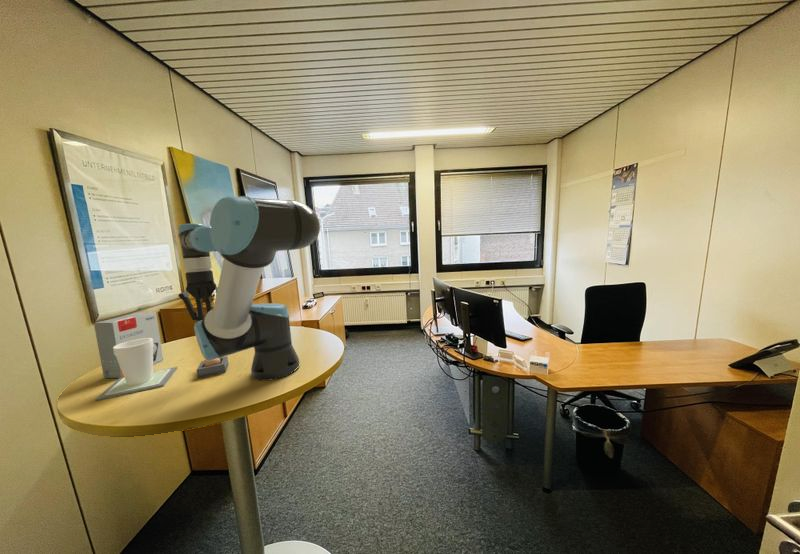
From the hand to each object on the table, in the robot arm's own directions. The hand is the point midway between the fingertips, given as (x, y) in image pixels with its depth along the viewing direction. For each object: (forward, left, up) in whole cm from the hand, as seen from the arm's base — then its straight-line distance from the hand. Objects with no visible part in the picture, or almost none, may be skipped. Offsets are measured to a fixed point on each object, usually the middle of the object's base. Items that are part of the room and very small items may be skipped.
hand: (209, 338), depth 97 cm
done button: (0, 0, -11) cm, 11 cm away
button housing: (0, 0, -12) cm, 12 cm away
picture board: (+3, +21, -12) cm, 25 cm away
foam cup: (+3, +21, -12) cm, 24 cm away
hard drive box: (+20, +28, -12) cm, 37 cm away
